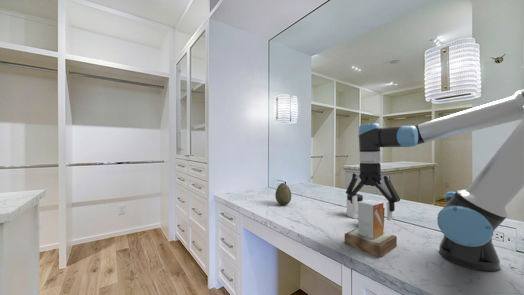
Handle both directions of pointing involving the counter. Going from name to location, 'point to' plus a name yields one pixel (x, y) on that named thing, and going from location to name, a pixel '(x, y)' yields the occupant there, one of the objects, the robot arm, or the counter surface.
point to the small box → (370, 218)
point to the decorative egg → (283, 194)
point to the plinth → (371, 243)
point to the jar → (349, 206)
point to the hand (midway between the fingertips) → (371, 215)
